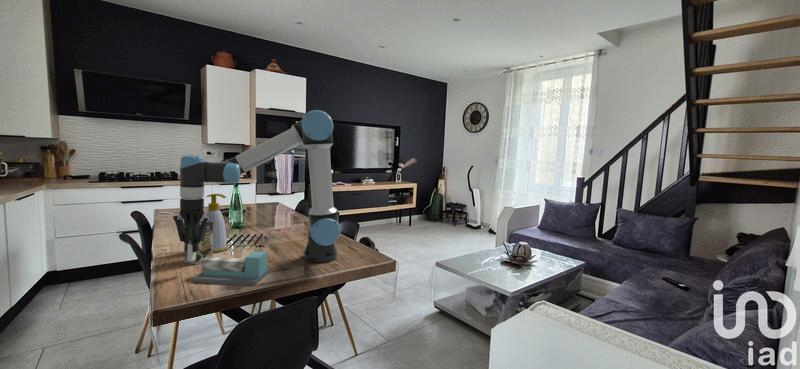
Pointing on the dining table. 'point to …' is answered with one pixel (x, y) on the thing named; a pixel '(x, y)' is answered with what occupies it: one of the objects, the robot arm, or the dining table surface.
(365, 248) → the dining table surface
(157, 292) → the dining table surface
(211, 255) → the coffee box
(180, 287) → the dining table surface
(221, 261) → the clear long block
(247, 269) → the light blue stand
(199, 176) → the robot arm
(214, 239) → the soap bottle
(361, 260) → the dining table surface
